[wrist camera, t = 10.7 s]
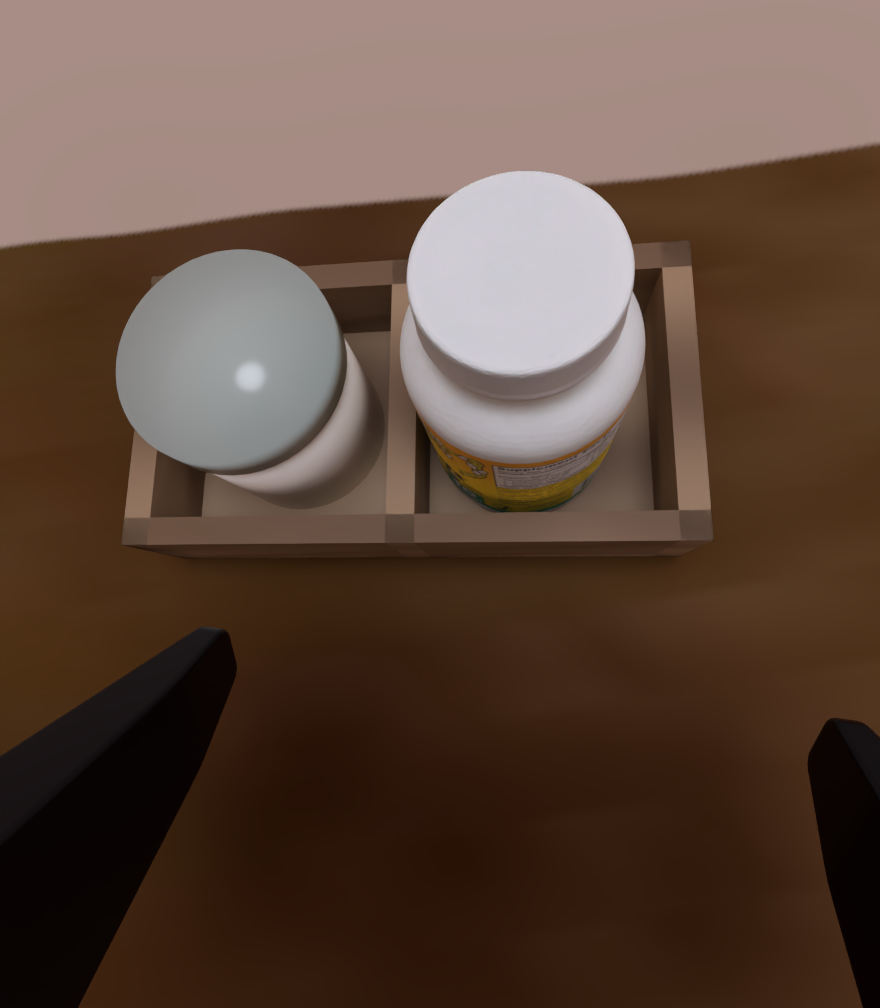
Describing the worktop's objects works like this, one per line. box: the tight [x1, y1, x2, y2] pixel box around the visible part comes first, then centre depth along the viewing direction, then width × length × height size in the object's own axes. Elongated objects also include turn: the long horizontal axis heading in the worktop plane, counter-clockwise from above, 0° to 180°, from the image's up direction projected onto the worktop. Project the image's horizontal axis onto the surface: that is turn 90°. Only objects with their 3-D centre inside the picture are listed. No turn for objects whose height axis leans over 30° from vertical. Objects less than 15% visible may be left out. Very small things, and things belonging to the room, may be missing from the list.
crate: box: [122, 240, 713, 559], centre depth 19 cm, size 9×16×4 cm, turn 89°
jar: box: [116, 250, 385, 509], centre depth 18 cm, size 6×6×6 cm
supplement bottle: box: [400, 171, 645, 513], centre depth 15 cm, size 5×5×10 cm
